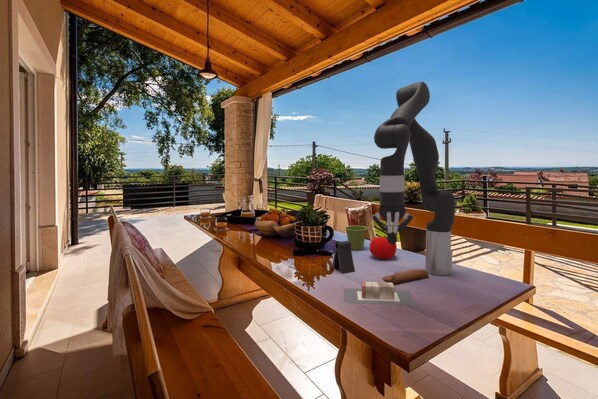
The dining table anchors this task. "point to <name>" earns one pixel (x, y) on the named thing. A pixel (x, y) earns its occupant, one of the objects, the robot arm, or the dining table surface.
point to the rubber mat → (399, 299)
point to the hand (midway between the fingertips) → (391, 244)
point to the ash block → (378, 290)
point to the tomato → (382, 248)
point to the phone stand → (343, 257)
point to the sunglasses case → (406, 276)
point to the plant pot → (356, 236)
